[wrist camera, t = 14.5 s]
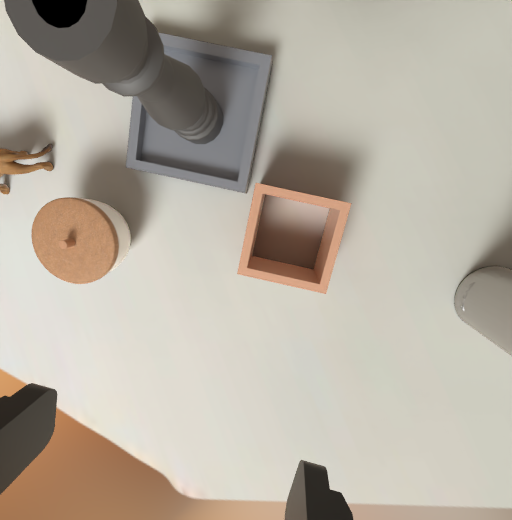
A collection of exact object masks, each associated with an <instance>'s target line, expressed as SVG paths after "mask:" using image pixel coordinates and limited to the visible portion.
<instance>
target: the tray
mask: <svg viewBox="0 0 512 520" xmlns="http://www.w3.org/2000/svg"><path fill="white" fill-rule="evenodd" d="M159 36H160V38H161V40H162V43H163V45H164V54H165V55H167V56H170V57H172V58H174V59H176V60H178V61H180V62H182V63H184V64H187V65H189V66H190V67H191V68H192V69H193V70H194V71H195V72H196V73H197V74H198V76H199V77H200V79H201V81H202V84H203V86H204V88H206V89H207V90H208V91H209V92H210V93H211V94H212V95H213V96H214V98H215V99H216V100H217V102H218V103H219V105H220V108H221V110H222V113H223V126H222V128H221V131H220V133H219V135H218V136H217V137H216V138H215V139H214V140H213V141H211V142H209V143H207V144H194V143H192V142H190V141H187V140H186V139H184V138H182V137H180V136H179V135H178V134H177V133H176V132H175V131H174V130H170V129H168V128H165V127H163V126H161V125H159V124H158V123H157V122H156V121H155V120H154V119H153V118H152V117H151V116H150V115H149V114H148V112H147V111H146V109H145V108H144V106H143V105H142V103H141V102H140V100H139V99H138V97H137V96H133V100H132V110H131V120H130V130H129V140H128V150H127V160H126V167H127V168H132V169H136V170H141V171H145V172H150V173H155V174H159V175H164V176H168V177H173V178H178V179H182V180H187V181H191V182H196V183H201V184H205V185H210V186H215V187H219V188H224V189H228V190H233V191H238V192H242V193H247V190H248V185H249V180H250V175H251V170H252V165H253V160H254V155H255V150H256V145H257V140H258V135H259V129H260V124H261V119H262V114H263V109H264V104H265V99H266V94H267V89H268V84H269V79H270V74H271V69H272V55H267V54H262V53H257V52H252V51H247V50H242V49H237V48H232V47H227V46H222V45H218V44H213V43H208V42H203V41H198V40H193V39H188V38H183V37H178V36H173V35H168V34H163V33H159Z"/></svg>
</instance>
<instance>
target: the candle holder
mask: <svg viewBox="0 0 512 520" xmlns="http://www.w3.org/2000/svg"><path fill="white" fill-rule="evenodd" d="M4 2H5V8H6V12H7V14H8V16H9V18H10V20H11V22H12V24H13V26H14V27H15V29H16V31H17V33H18V35H19V36H20V37H21V38H22V39H23V40H24V41H25V42H26V43H27V44H28V45H29V46H30V47H31V48H32V49H33V50H34V51H35V52H36V53H38V54H40V55H42V56H44V57H45V58H47V59H49V60H51V61H52V62H54V63H56V64H58V65H59V66H61V67H63V68H65V69H66V70H68V71H70V72H72V73H73V74H75V75H77V76H79V77H81V78H84V79H86V80H88V81H91V82H93V83H95V84H96V83H102V84H103V85H104V86H105V87H106V88H107V89H109V90H111V91H113V92H115V93H118V94H120V95H122V96H137V97H138V99H139V100H140V102H141V103H142V105H143V106H144V108H145V109H146V111H147V112H148V114H149V115H150V116H151V117H152V118H153V119H154V120H155V121H156V122H157V123H158V124H159V125H161V126H163V127H165V128H168V129H170V130H174V131H175V132H176V133H177V134H178V135H179V136H180V137H182V138H184V139H186V140H187V141H190V142H192V143H194V144H207V143H209V142H211V141H213V140H214V139H215V138H216V137H217V136H218V135H219V133H220V131H221V128H222V126H223V113H222V110H221V108H220V105H219V103H218V102H217V100H216V99H215V98H214V96H213V95H212V94H211V93H210V92H209V91H208V90H207V89H206V88H204V86H203V84H202V81H201V79H200V77H199V76H198V74H197V73H196V72H195V71H194V70H193V69H192V68H191V67H190V66H189V65H187V64H184V63H182V62H180V61H178V60H176V59H174V58H172V57H170V56H167V55H165V54H164V45H163V43H162V40H161V38H160V36H159V33H158V31H157V29H156V27H155V26H154V25H153V24H152V23H151V22H150V21H149V20H148V19H147V18H146V17H145V15H144V12H143V10H142V8H141V5H140V3H139V1H138V0H4Z"/></svg>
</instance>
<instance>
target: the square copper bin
mask: <svg viewBox="0 0 512 520" xmlns="http://www.w3.org/2000/svg"><path fill="white" fill-rule="evenodd" d="M265 194H267V195H272V196H276V197H281V198H286V199H290V200H295V201H299V202H304V203H309V204H313V205H318V206H323V207H327V208H330V209H329V213H328V217H327V221H326V224H325V228H324V232H323V236H322V239H321V243H320V247H319V251H318V254H317V258H316V262H315V266H314V269H309V268H305V267H300V266H296V265H291V264H287V263H282V262H278V261H273V260H269V259H264V258H260V257H255V256H252V254H253V250H254V245H255V240H256V236H257V231H258V226H259V221H260V217H261V212H262V207H263V203H264V198H265ZM350 207H351V203H347V202H343V201H338V200H333V199H329V198H324V197H319V196H315V195H310V194H305V193H301V192H296V191H292V190H287V189H282V188H278V187H273V186H268V185H264V184H259V183H256V184H255V189H254V194H253V199H252V204H251V209H250V214H249V219H248V224H247V229H246V234H245V238H244V243H243V248H242V253H241V258H240V263H239V268H238V273H237V274H240V275H244V276H249V277H253V278H258V279H262V280H266V281H271V282H275V283H280V284H284V285H289V286H293V287H298V288H302V289H306V290H311V291H315V292H320V293H324V294H326V292H327V288H328V285H329V281H330V277H331V274H332V270H333V267H334V263H335V260H336V256H337V253H338V249H339V246H340V242H341V238H342V235H343V231H344V228H345V224H346V221H347V217H348V214H349V210H350Z"/></svg>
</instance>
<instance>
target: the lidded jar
mask: <svg viewBox="0 0 512 520" xmlns="http://www.w3.org/2000/svg"><path fill="white" fill-rule="evenodd" d="M32 243H33V247H34V250H35V253H36V255H37V257H38V259H39V260H40V262H41V263H42V264H43V266H44V267H45V268H46V269H47V270H48V271H49V272H50V273H52V274H53V275H54V276H56V277H58V278H60V279H61V280H64V281H67V282H70V283H75V284H85V283H90V282H93V281H96V280H98V279H100V278H102V277H103V276H104V275H106V274H108V273H110V272H111V271H112V270H114V269H115V268H116V267H118V266H119V265H120V264H121V263H122V261H123V260H124V259H125V257H126V256H127V254H128V251H129V248H130V243H131V235H130V230H129V227H128V225H127V223H126V221H125V219H124V218H123V217H122V215H121V214H120V213H119V212H118V211H116V210H115V209H114V208H112V207H111V206H109V205H107V204H105V203H102V202H99V201H96V200H91V199H81V198H59V199H56V200H53V201H51V202H49V203H47V204H46V205H45V206H43V207H42V208H41V210H40V211H39V212H38V214H37V215H36V217H35V220H34V222H33V226H32Z"/></svg>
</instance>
